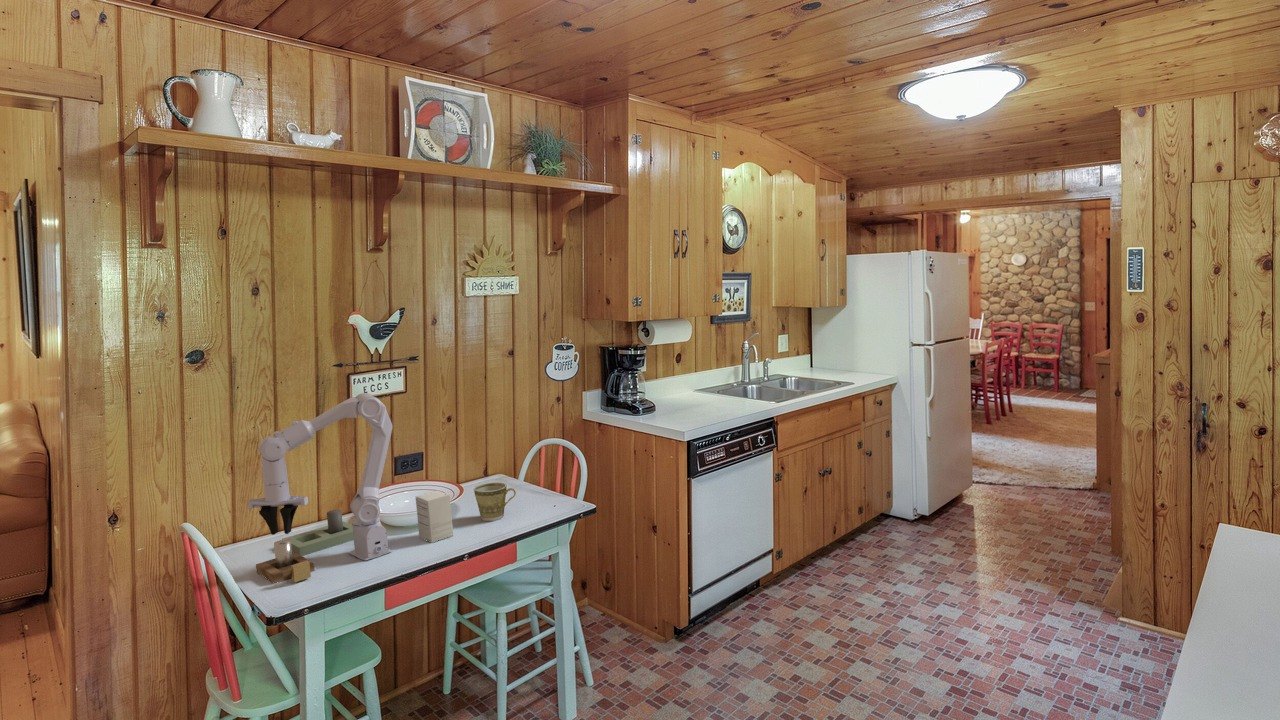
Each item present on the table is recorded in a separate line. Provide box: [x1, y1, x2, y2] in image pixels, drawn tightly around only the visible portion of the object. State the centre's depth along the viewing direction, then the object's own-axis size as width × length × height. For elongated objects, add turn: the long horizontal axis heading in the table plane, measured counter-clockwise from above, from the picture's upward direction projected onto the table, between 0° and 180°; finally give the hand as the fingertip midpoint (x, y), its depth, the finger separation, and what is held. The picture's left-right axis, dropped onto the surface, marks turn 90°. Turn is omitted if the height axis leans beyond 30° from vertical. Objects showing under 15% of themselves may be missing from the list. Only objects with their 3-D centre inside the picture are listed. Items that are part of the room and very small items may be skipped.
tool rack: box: [281, 509, 354, 557], centre depth 206 cm, size 12×18×8 cm, turn 138°
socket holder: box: [255, 552, 315, 584], centre depth 185 cm, size 12×10×2 cm
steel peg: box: [273, 539, 293, 569], centre depth 184 cm, size 4×4×8 cm
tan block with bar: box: [291, 561, 312, 583], centre depth 180 cm, size 8×4×4 cm, turn 48°
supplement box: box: [415, 490, 454, 544], centre depth 205 cm, size 7×7×13 cm
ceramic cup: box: [473, 481, 517, 522], centre depth 220 cm, size 13×10×10 cm
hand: (281, 533), depth 184 cm, fingers open, 3 cm apart
